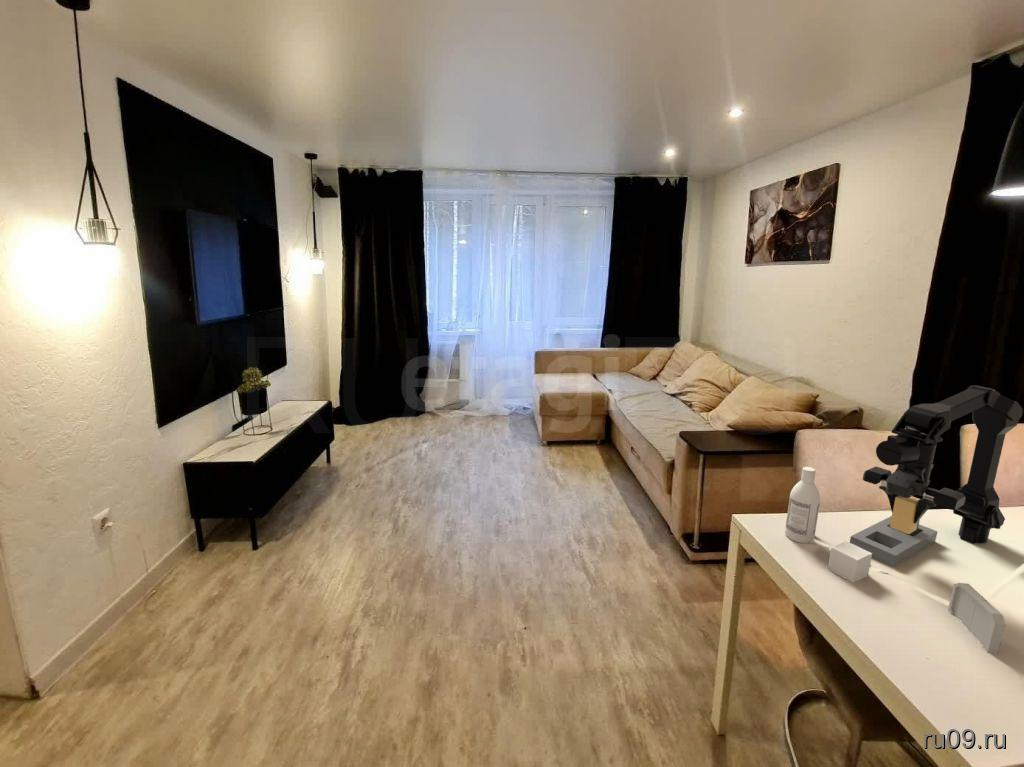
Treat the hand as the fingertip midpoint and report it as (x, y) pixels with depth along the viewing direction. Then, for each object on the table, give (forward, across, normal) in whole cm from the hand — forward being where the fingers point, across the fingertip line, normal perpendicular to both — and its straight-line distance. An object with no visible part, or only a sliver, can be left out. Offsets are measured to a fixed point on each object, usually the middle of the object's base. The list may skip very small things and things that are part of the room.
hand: (904, 518), depth 121 cm
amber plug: (+3, 0, 0) cm, 3 cm away
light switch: (+12, +19, -15) cm, 27 cm away
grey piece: (+12, -3, +6) cm, 13 cm away
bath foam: (+12, -19, -10) cm, 24 cm away
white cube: (+12, -4, -15) cm, 20 cm away
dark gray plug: (+10, -3, +11) cm, 16 cm away
